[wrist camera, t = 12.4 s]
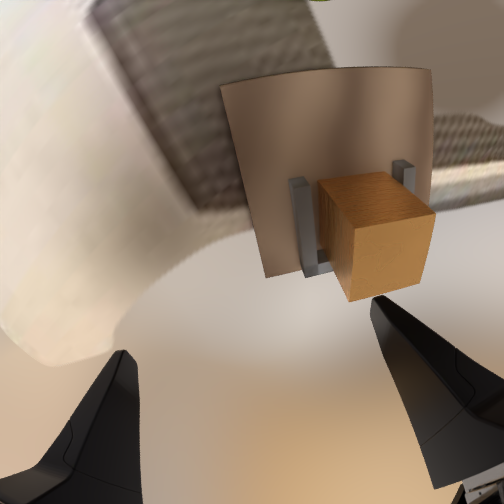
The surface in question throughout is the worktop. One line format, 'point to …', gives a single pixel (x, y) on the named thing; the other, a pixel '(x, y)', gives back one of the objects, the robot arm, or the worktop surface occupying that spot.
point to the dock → (324, 147)
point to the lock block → (373, 233)
